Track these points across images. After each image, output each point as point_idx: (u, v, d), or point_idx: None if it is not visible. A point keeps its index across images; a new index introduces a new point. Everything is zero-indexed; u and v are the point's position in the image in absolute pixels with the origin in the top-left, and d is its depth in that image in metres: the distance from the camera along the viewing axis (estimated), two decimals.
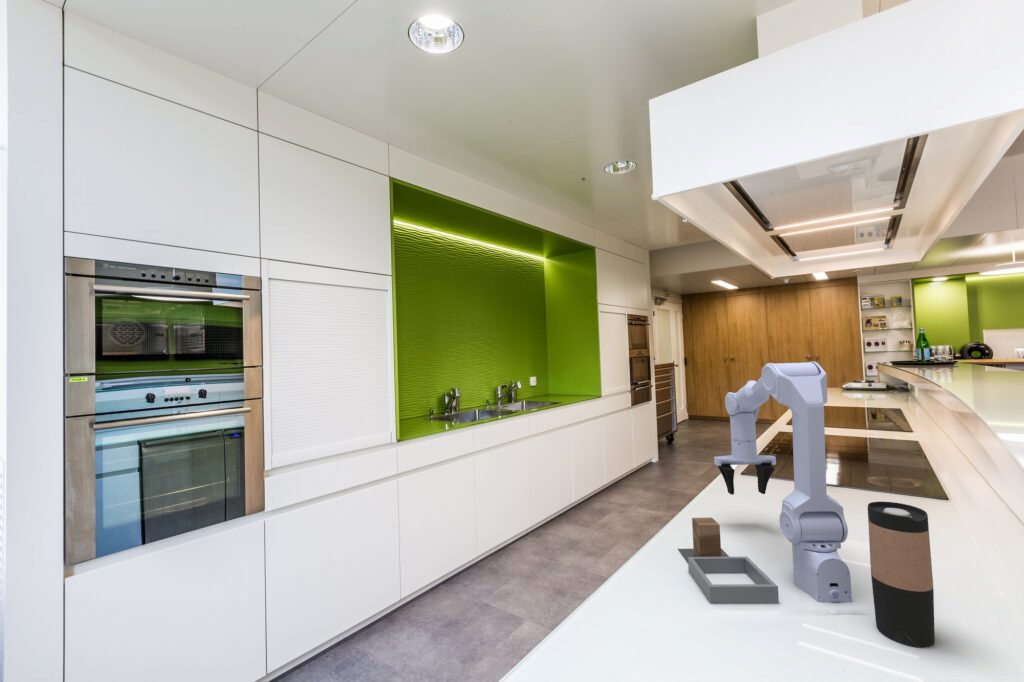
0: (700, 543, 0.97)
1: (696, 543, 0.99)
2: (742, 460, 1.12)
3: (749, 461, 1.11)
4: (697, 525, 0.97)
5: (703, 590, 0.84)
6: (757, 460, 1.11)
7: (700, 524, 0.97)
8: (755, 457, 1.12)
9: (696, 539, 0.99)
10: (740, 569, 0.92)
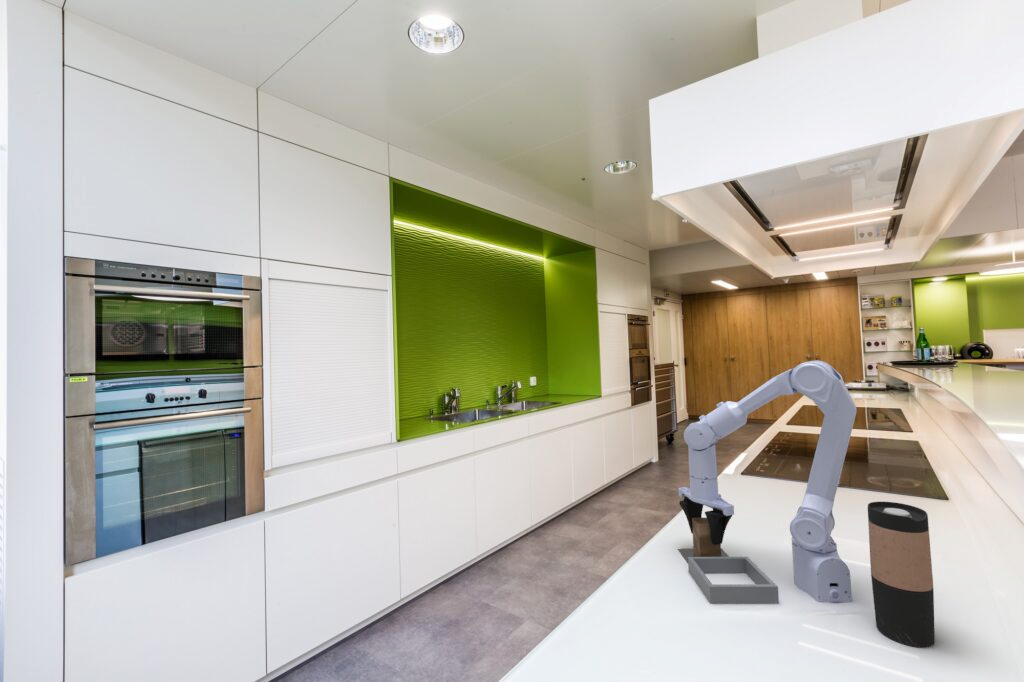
0: (700, 543, 0.97)
1: (696, 543, 0.99)
2: (689, 496, 1.00)
3: (692, 499, 0.98)
4: (697, 525, 0.97)
5: (703, 590, 0.84)
6: (702, 502, 0.96)
7: (700, 524, 0.97)
8: (701, 498, 0.97)
9: (696, 539, 0.99)
10: (740, 569, 0.92)
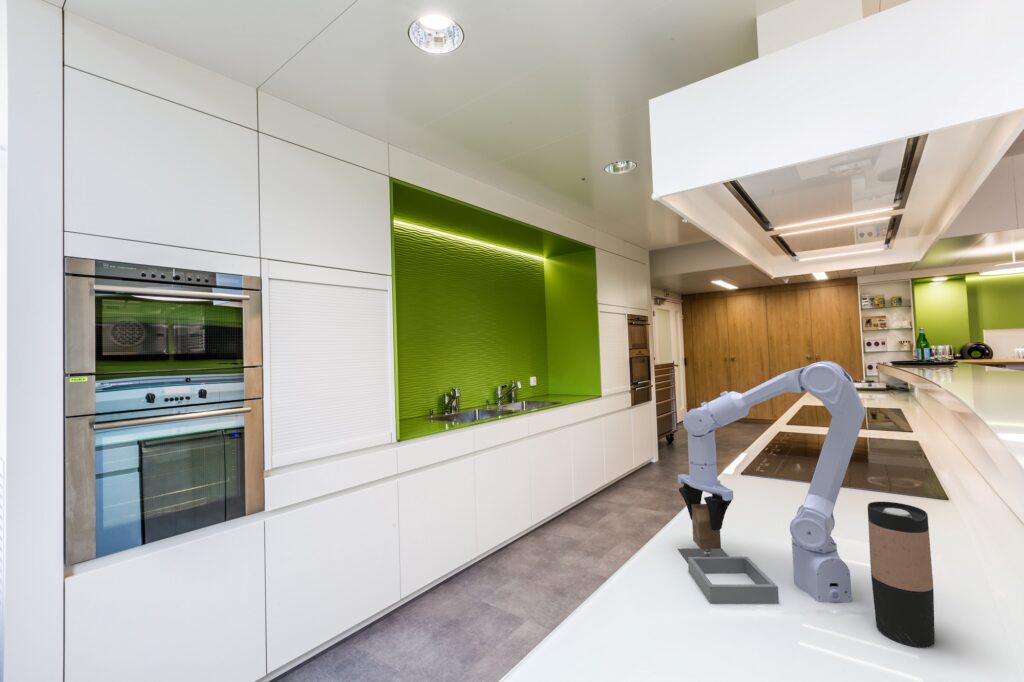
0: (699, 529, 0.97)
1: (695, 529, 0.99)
2: (688, 483, 1.00)
3: (692, 485, 0.98)
4: (697, 511, 0.98)
5: (703, 590, 0.84)
6: (701, 487, 0.96)
7: (699, 509, 0.97)
8: (701, 484, 0.97)
9: (695, 525, 0.99)
10: (740, 569, 0.92)
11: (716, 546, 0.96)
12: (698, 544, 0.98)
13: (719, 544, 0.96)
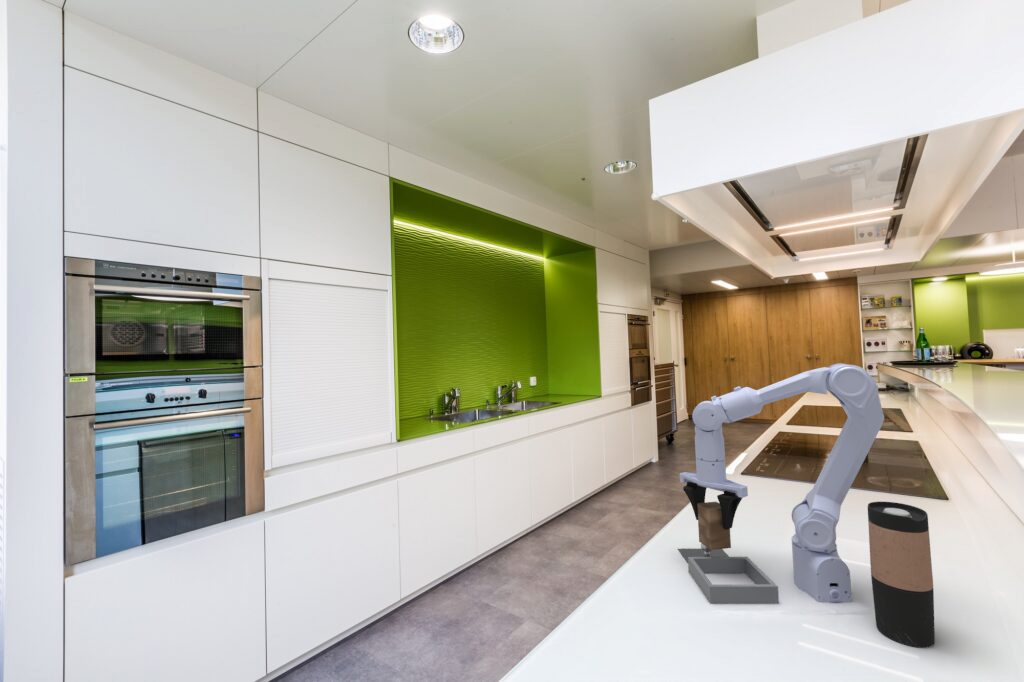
0: (710, 529, 0.92)
1: (704, 529, 0.94)
2: (696, 481, 0.94)
3: (702, 484, 0.93)
4: (707, 510, 0.92)
5: (703, 590, 0.84)
6: (713, 485, 0.91)
7: (709, 509, 0.92)
8: (712, 481, 0.92)
9: (704, 526, 0.94)
10: (740, 569, 0.92)
11: (726, 546, 0.92)
12: (708, 545, 0.92)
13: (729, 543, 0.92)
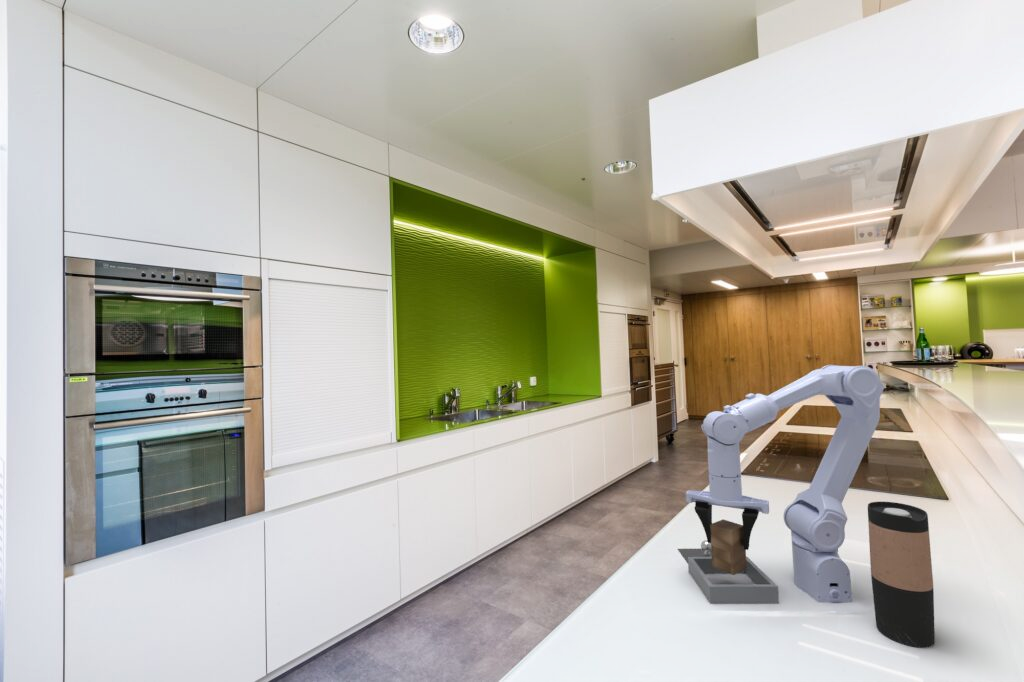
0: (732, 552, 0.84)
1: (722, 553, 0.86)
2: (714, 500, 0.86)
3: (722, 503, 0.85)
4: (728, 532, 0.84)
5: (703, 590, 0.84)
6: (735, 503, 0.84)
7: (730, 529, 0.85)
8: (733, 499, 0.84)
9: (722, 549, 0.86)
10: None
11: (743, 567, 0.86)
12: (728, 570, 0.84)
13: (745, 564, 0.86)
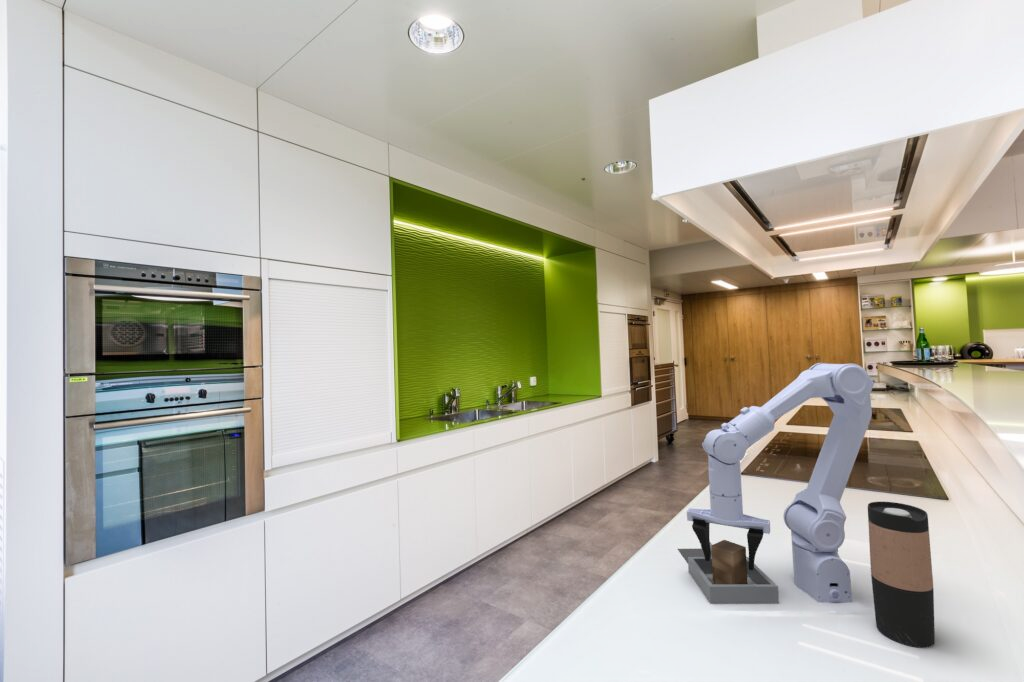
0: (734, 574, 0.84)
1: (723, 574, 0.85)
2: (715, 519, 0.86)
3: (723, 522, 0.85)
4: (729, 553, 0.84)
5: (703, 590, 0.84)
6: (736, 523, 0.84)
7: (731, 551, 0.84)
8: (734, 519, 0.84)
9: (723, 570, 0.85)
10: None
11: None
12: None
13: None
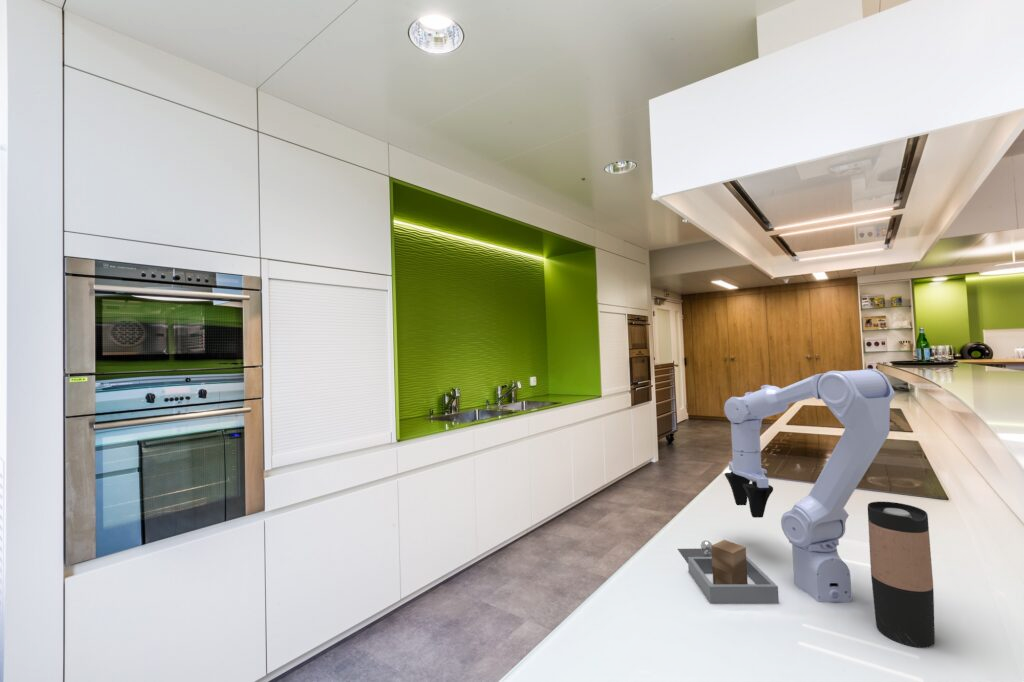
0: (734, 574, 0.84)
1: (723, 574, 0.85)
2: (732, 469, 1.03)
3: (733, 471, 1.01)
4: (729, 553, 0.84)
5: (703, 590, 0.84)
6: (740, 474, 0.99)
7: (731, 551, 0.84)
8: (740, 470, 0.99)
9: (723, 570, 0.85)
10: None
11: None
12: None
13: None
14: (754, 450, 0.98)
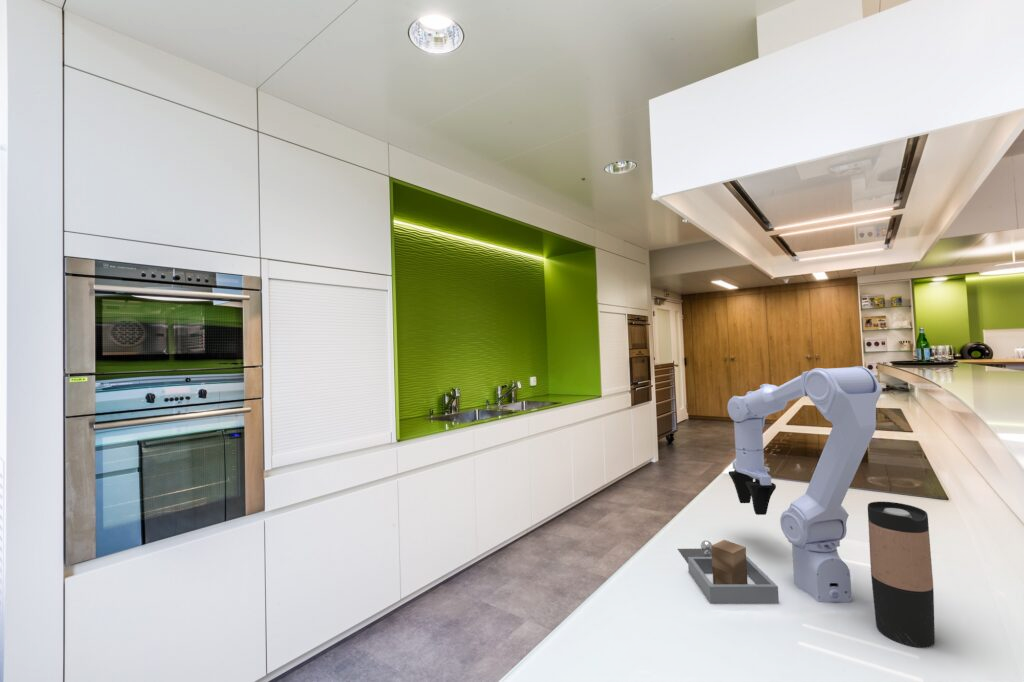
0: (734, 574, 0.84)
1: (723, 574, 0.85)
2: (735, 467, 1.04)
3: (736, 469, 1.03)
4: (729, 553, 0.84)
5: (703, 590, 0.84)
6: (743, 471, 1.01)
7: (731, 551, 0.84)
8: (743, 468, 1.01)
9: (723, 570, 0.85)
10: None
11: None
12: None
13: None
14: (755, 448, 1.00)
